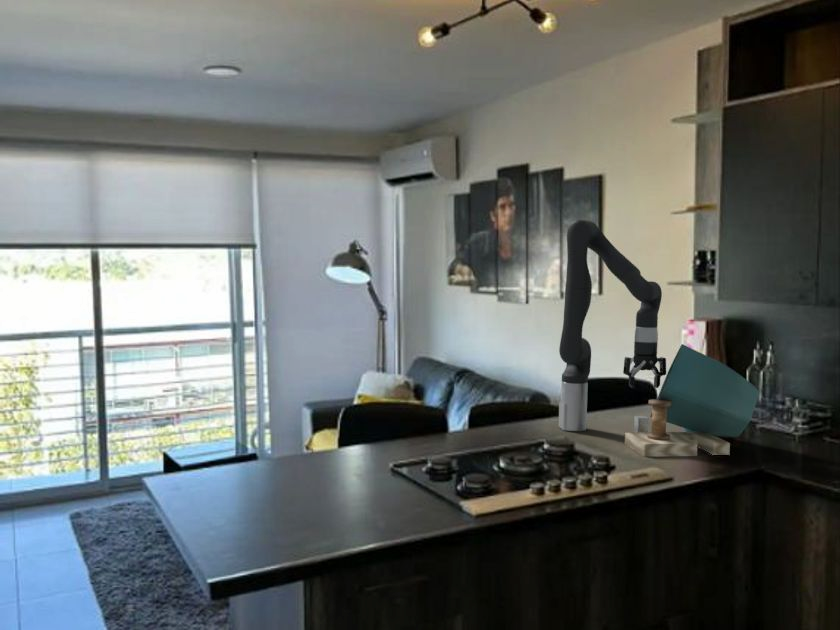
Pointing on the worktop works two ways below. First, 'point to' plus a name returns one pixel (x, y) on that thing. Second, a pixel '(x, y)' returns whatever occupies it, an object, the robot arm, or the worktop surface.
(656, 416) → the bobbin
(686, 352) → the flower pot
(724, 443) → the notched board
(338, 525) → the worktop surface
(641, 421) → the tab peg
